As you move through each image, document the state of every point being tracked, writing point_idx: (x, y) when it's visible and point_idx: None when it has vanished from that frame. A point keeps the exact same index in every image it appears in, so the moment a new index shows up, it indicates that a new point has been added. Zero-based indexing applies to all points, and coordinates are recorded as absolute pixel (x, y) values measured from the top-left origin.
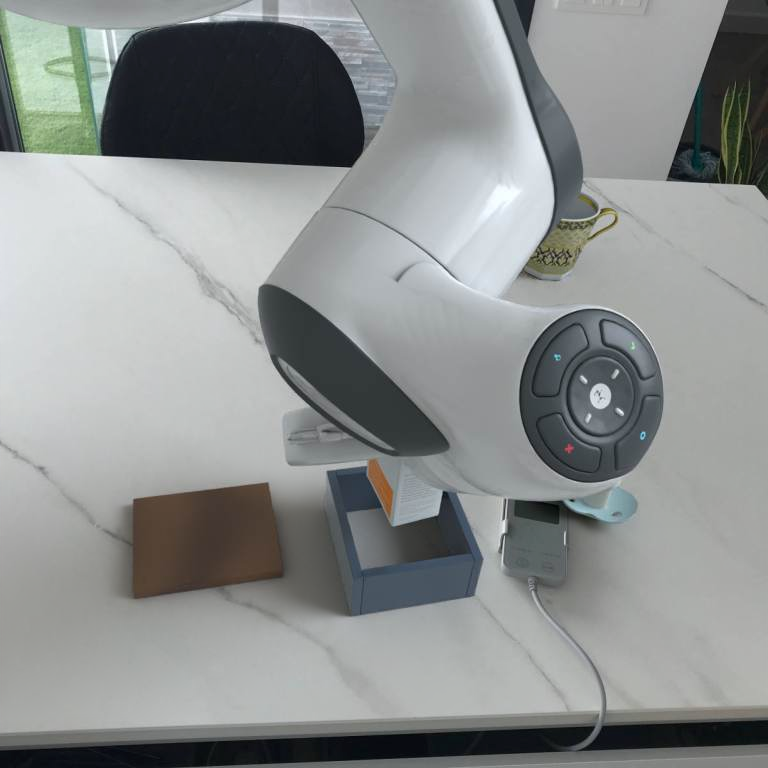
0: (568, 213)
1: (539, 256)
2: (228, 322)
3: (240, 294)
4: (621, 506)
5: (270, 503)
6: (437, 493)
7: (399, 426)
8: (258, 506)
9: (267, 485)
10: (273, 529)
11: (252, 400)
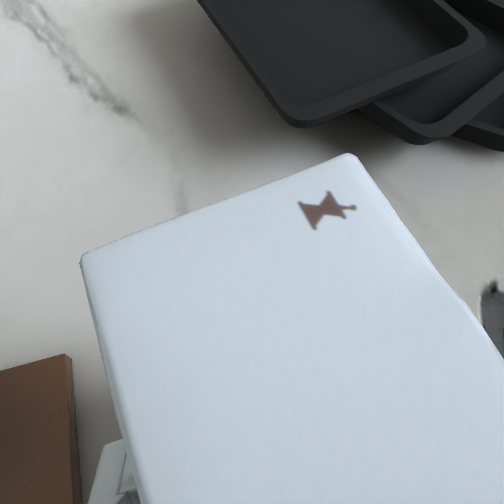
0: None
1: None
2: (34, 54)
3: (54, 9)
4: None
5: (64, 403)
6: None
7: None
8: (43, 412)
9: (62, 361)
10: (65, 468)
11: (58, 182)
